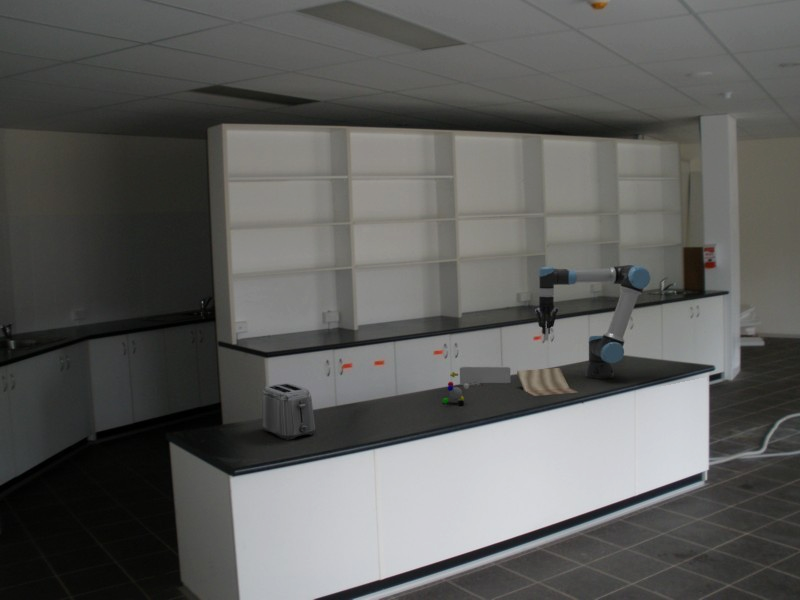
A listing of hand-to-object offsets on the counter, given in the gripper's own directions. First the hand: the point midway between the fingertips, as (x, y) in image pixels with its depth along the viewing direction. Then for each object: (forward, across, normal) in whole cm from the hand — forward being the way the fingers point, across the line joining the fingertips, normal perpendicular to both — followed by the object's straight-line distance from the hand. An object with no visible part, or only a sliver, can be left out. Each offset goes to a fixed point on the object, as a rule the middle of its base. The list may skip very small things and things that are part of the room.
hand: (546, 340), depth 407 cm
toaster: (+25, +142, +54) cm, 155 cm away
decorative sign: (+25, +34, -10) cm, 43 cm away
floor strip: (+24, +7, +24) cm, 34 cm away
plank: (+19, +7, +12) cm, 24 cm away
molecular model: (+25, +59, +27) cm, 69 cm away
